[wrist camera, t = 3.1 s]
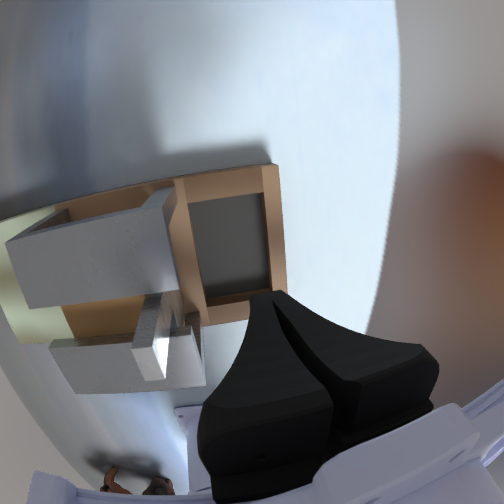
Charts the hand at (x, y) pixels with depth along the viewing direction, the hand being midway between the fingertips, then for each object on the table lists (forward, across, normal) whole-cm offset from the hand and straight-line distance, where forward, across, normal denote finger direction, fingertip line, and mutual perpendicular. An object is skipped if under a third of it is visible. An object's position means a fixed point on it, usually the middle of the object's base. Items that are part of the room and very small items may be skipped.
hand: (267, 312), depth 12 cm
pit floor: (+8, +1, 0) cm, 8 cm away
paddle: (+7, +5, 0) cm, 8 cm away
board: (+8, +9, 0) cm, 12 cm away
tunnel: (+7, +7, 0) cm, 10 cm away
